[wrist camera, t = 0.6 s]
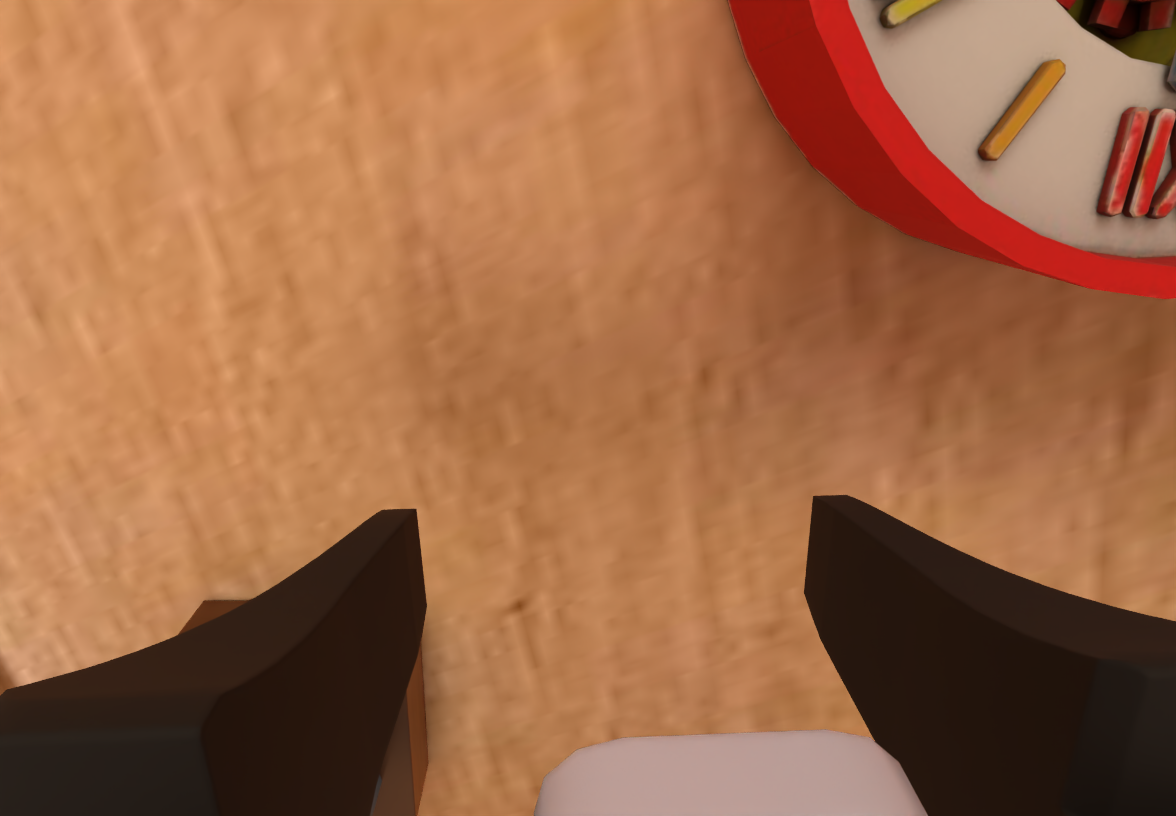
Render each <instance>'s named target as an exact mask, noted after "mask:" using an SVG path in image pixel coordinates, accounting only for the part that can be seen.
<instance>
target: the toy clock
mask: <svg viewBox="0 0 1176 816" xmlns="http://www.w3.org/2000/svg"><path fill="white" fill-rule="evenodd" d="M728 4H729V7H730V10H731V13H732V17H733V20H734V23H735V27H736V30H737V33H738V36H739V40H740V43H741V46H742V50H743V53H744V56H745V59H746V61H747V63H748V65H749V67H750V69H751V71H752V73H753V75H754V77H755V79H756V81H757V83H758V85H759V87H760V89H761V91H762V93H763V95H764V97H765V99H766V101H767V103H768V105H769V107H770V109H771V111H772V112H773V114H774V116H775V118H776V119H777V121H778V122H779V123H780V125H781V126H782V127H783V129H784V130H785V131H786V133H787V134H788V135H789V136H790V138H791V139H792V140H793V142H794V143H795V144H796V146H797V147H798V148H799V150H800V151H801V152H802V154H803V155H804V156H805V157H806V159H807V160H808V161H809V163H810V164H811V165H812V167H814V168H815V169H816V170H817V171H818V172H819V173H820V174H821V175H823V176H824V177H825V178H826V179H827V180H828V181H829V182H830V183H832V184H833V185H834V186H835V187H836V188H837V189H838V190H839V191H841V192H842V193H843V194H844V195H845V196H846V197H847V198H848V199H850V200H851V201H852V202H853V203H854V204H855V205H856V206H858V207H860V208H862V209H863V210H865V211H867V212H868V213H870V214H872V215H874V216H875V217H877V218H879V219H880V220H882V221H884V222H886V223H887V224H889V225H891V226H893V227H894V228H896V229H898V230H899V231H901V232H903V233H905V234H907V235H910V236H913V237H916V238H919V239H922V240H925V241H928V242H931V243H934V244H937V245H940V246H943V247H946V248H948V249H951V250H954V251H957V252H961V253H964V254H968V255H972V256H975V257H979V258H982V259H986V260H989V261H993V262H997V263H1000V264H1004V265H1007V266H1011V267H1014V268H1018V269H1022V270H1025V271H1029V272H1032V273H1036V274H1040V275H1043V276H1047V277H1050V278H1054V279H1057V280H1061V281H1065V282H1068V283H1072V284H1075V285H1079V286H1082V287H1086V288H1090V289H1095V290H1103V291H1110V292H1117V293H1125V294H1132V295H1139V296H1147V297H1154V298H1161V299H1171V298H1176V0H728Z"/></svg>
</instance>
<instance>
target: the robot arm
mask: <svg viewBox="0 0 1176 816" xmlns="http://www.w3.org/2000/svg"><path fill="white" fill-rule="evenodd" d="M804 594H805V597H806V600H807V603H808V606H809V609H810V612H811V615H812V618H813V620H814V623H815V626H816V628H817V631H818V634H819V636H820V639H821V641H822V643H823V645H824V647H825V649H826V651H827V653H828V654H829V656H830V658H831V660H832V662H833V664H834V666H835V668H836V670H837V672H838V673H839V675H840V677H841V679H842V681H843V683H844V685H845V686H846V688H847V690H848V692H849V694H850V696H851V698H852V699H853V701H854V703H855V705H856V707H857V709H858V711H859V712H860V714H861V716H862V718H863V720H864V722H865V724H866V725H867V727H868V729H869V731H870V733H871V735H872V737H873V738H874V740H875V741H873V740H872V739H871V738H870V737H865V736H859V735H854V734H848V733H842V732H837V731H831V730H826V729H824V730H799V731H774V732H749V733H724V734H699V735H675V736H650V737H625V738H620V739H616V740H612V741H608V742H604V743H600V744H596V745H592V746H588V747H584V748H580V749H577V750H576V751H574V752H573V753H572V754H571V755H570V756H568V757H567V758H566V759H565V760H564V761H562V762H561V763H560V764H559V765H558V766H557V767H555V768H554V769H553V770H552V771H551V772H549V773H548V774H547V775H546V776H545V777H544V780H543V783H542V786H541V790H540V793H539V797H538V800H537V803H536V807H535V810H534V816H1176V621H1172V620H1167V619H1163V618H1158V617H1153V616H1149V615H1144V614H1140V613H1137V612H1133V611H1129V610H1125V609H1121V608H1117V607H1113V606H1109V605H1106V604H1102V603H1099V602H1096V601H1092V600H1089V599H1085V598H1082V597H1079V596H1075V595H1072V594H1068V593H1065V592H1062V591H1059V590H1056V589H1053V588H1050V587H1047V586H1044V585H1042V584H1039V583H1036V582H1034V581H1031V580H1028V579H1026V578H1023V577H1020V576H1017V575H1015V574H1012V573H1009V572H1007V571H1004V570H1002V569H1000V568H997V567H995V566H992V565H990V564H988V563H985V562H983V561H981V560H979V559H977V558H974V557H972V556H970V555H968V554H966V553H963V552H961V551H959V550H957V549H955V548H953V547H951V546H949V545H946V544H944V543H942V542H940V541H938V540H936V539H934V538H932V537H930V536H928V535H926V534H925V533H923V532H921V531H919V530H917V529H915V528H913V527H911V526H909V525H907V524H905V523H903V522H902V521H900V520H898V519H896V518H894V517H892V516H890V515H888V514H886V513H884V512H883V511H881V510H879V509H877V508H875V507H873V506H871V505H869V504H867V503H865V502H862V501H860V500H858V499H856V498H853V497H851V496H848V495H832V496H813V503H812V514H811V524H810V535H809V545H808V556H807V566H806V577H805V588H804ZM426 608H427V603H426V594H425V585H424V576H423V566H422V557H421V548H420V538H419V529H418V520H417V511H416V509H392V510H381V511H380V512H378V513H376V514H375V515H373V516H372V517H371V518H369V519H368V520H366V521H365V522H364V523H362V524H361V525H360V526H359V527H357V528H356V529H355V530H353V531H352V532H351V533H349V534H348V535H347V536H345V537H344V538H343V539H341V540H340V541H339V542H337V543H336V544H335V545H333V546H332V547H331V548H329V549H328V550H327V551H325V552H324V553H323V554H321V555H320V556H319V557H317V558H316V559H314V560H313V561H311V562H310V563H308V564H307V565H305V566H304V567H302V568H301V569H299V570H298V571H296V572H295V573H293V574H292V575H290V576H289V577H288V578H286V579H285V580H283V581H282V582H280V583H279V584H277V585H275V586H274V587H272V588H271V589H269V590H267V591H266V592H264V593H262V594H260V595H259V596H257V597H255V598H253V599H252V600H250V601H248V602H246V603H244V604H242V605H240V606H239V607H237V608H235V609H233V610H231V611H229V612H227V613H225V614H223V615H221V616H219V617H217V618H215V619H213V620H210V621H208V622H206V623H204V624H202V625H199V626H197V627H195V628H193V629H190V630H188V631H186V632H184V633H181V634H179V635H177V636H175V637H172V638H170V639H168V640H165V641H163V642H160V643H158V644H155V645H152V646H150V647H147V648H144V649H142V650H139V651H136V652H134V653H131V654H128V655H125V656H122V657H119V658H116V659H113V660H110V661H107V662H104V663H101V664H98V665H95V666H92V667H89V668H85V669H82V670H78V671H75V672H71V673H67V674H64V675H60V676H56V677H53V678H49V679H46V680H42V681H38V682H35V683H31V684H27V685H24V686H20V687H15V688H11V689H7V690H6V691H5V692H4V693H3V694H2V695H1V696H0V816H370V813H371V808H372V804H373V799H374V794H375V790H376V785H377V782H378V778H379V774H380V771H381V767H382V764H383V760H384V757H385V754H386V751H387V748H388V745H389V742H390V739H391V736H392V733H393V730H394V727H395V724H396V721H397V718H398V715H399V712H400V709H401V706H402V703H403V700H404V697H405V694H406V691H407V688H408V685H409V681H410V678H411V675H412V672H413V669H414V666H415V663H416V660H417V656H418V653H419V648H420V642H421V637H422V632H423V626H424V620H425V614H426Z"/></svg>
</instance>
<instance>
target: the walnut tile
mask: <svg viewBox="0 0 1176 816" xmlns="http://www.w3.org/2000/svg"><path fill="white" fill-rule="evenodd" d="M246 602H248V601H203V603H202V604H201V605H200V607H199V608H198V609H197V610H196V612H195V613H194V614H193V616H192V617H191V618H190V620H189V621H188V622H187V623H186V625H185V626H184V627H183V629H182V630H181V631H180V633H179V634H181V633H184V632H186V631H188V630H190V629H193V628H195V627H197V626H199V625H202V624H204V623H206V622H208V621H210V620H213V619H215V618H217V617H219V616H221V615H223V614H225V613H227V612H229V611H231V610H233V609H235V608H237V607H239V606H240V605H242V604H244V603H246ZM179 634H178V635H179ZM427 767H428V749H427V734H426V718H425V703H424V687H423V672H422V656H421V642H420V648H419V653H418V656H417V660H416V663H415V666H414V669H413V672H412V675H411V678H410V681H409V685H408V688H407V691H406V694H405V697H404V700H403V703H402V706H401V709H400V712H399V715H398V718H397V721H396V724H395V727H394V730H393V733H392V736H391V739H390V742H389V745H388V748H387V751H386V754H385V757H384V760H383V764H382V767H381V771H380V777H381V779H382V783H381V786H380V790H379V794H378V797H377V801H376V805H375V808H374V812H373V815H372V816H417V815H418V810H419V805H420V801H421V796H422V791H423V786H424V782H425V777H426V772H427Z"/></svg>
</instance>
